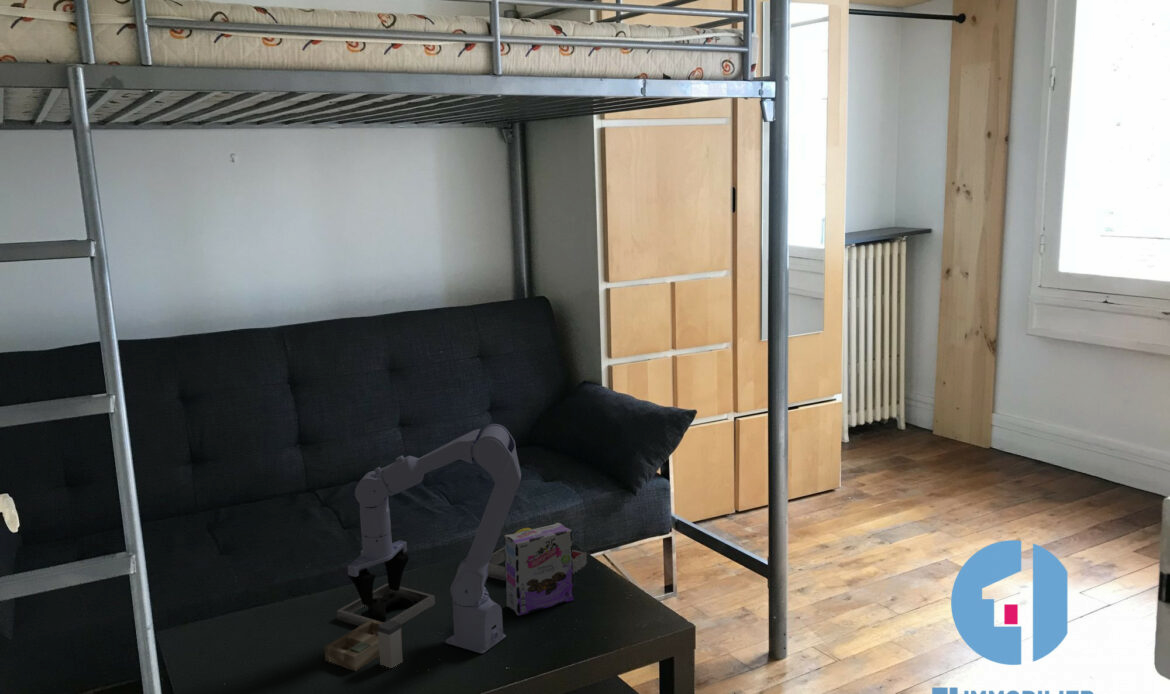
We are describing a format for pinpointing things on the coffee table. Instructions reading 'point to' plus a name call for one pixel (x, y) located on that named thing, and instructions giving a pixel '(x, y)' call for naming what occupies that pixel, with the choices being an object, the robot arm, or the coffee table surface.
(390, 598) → the gaming controller
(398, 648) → the white upright block
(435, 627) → the coffee table surface
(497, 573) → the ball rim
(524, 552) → the candy box
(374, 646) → the socket block
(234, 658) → the coffee table surface
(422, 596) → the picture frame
